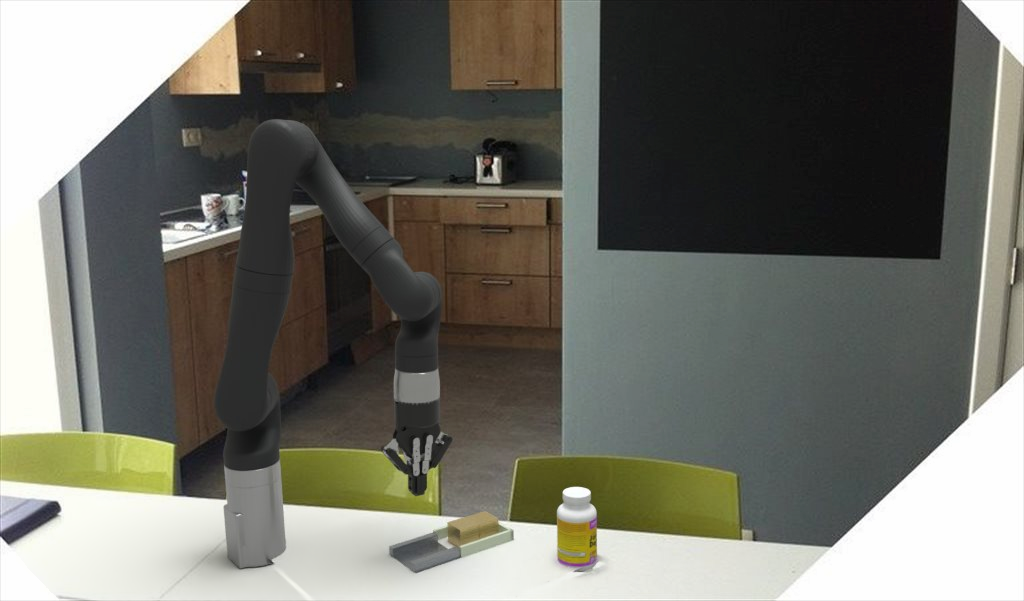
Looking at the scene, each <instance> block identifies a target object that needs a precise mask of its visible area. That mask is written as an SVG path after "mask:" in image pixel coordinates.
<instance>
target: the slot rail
mask: <svg viewBox="0 0 1024 601" xmlns="http://www.w3.org/2000/svg"><path fill="white" fill-rule="evenodd" d="M388 548H389V549H388V550H389V553H388V555H389V556H390V557H392V558H394V559H395V560H396V561H398V562H399V563H400V564H402V565H403V566H404V567H406V568H407V569H408V570H410V571H411V572H413V573H414V574H418V573H421V572H425V571H427V570H430V569H432V568H436V567H439V566H442V565H445V564H448V563H450V562H453V561H455V560H459V559H462V558H463V557H461V555H460V548H459V547H457V546H455V545H454V546H452V547H450V548H448V547H446V546H445V545H443V544H441V543H440V542H439V540H438V534H436V533H435V532H433V531H432V532H430V533H425V534H424V535H420V536H417V537H414V538H411V539H408V540H404V541H402V542H399V543H395V544H391V545H389V546H388Z"/></svg>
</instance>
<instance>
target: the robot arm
mask: <svg viewBox="0 0 1024 601" xmlns="http://www.w3.org/2000/svg"><path fill="white" fill-rule="evenodd" d="M246 162H247V165H246V190H245V191H246V194H245V205H244V210H243V217H242V225H241V230H240V237H239V244H238V250H237V251H238V252H237V256H236V260H235V267H234V274H233V279H232V280H233V281H232V291H231V299H230V307H229V315H228V316H229V317H228V330H227V338H226V339H227V340H226V347H225V350H224V351H225V352H224V357H223V361H222V365H221V367H220V368H221V369H220V372H219V376H218V380H217V382H216V387H215V391H214V396H213V408H214V412H215V416H216V417H217V419H218V420H219V422H220V423H221V425H223V426H224V427H225V428H227V431H226V438H225V443H224V446H223V450H222V451H223V452H222V457H223V465H224V467H223V468H224V469H223V470H224V479H225V493H226V504H224V505H223V516H224V517H223V518H224V527H225V528H224V529H225V531H224V532H225V540H226V541H225V542H226V553H227V554H226V555H227V557H228V559H229V560H231V561H232V562H233V563H234V564H235V565H236V566H237V567H238V568H239V569H245V568H256V567H264V566H267V565H271V564H274V562H275V561H274V562H273V561H272V560H273V559H276V558H277V557H279V556H281V555H283V554H284V553H285V551H286V549H287V539H286V538H287V537H286V527H285V526H286V525H285V516H284V515H285V514H284V513H285V512H284V500H283V499H284V498H283V486H282V485H283V484H282V473H281V472H282V471H281V470H282V469H281V459H280V458H281V456H280V448H281V441H282V418H281V416H282V415H281V414H282V413H281V396H280V391H279V386H278V383H277V381H276V378H275V377H274V376H273V374H272V373H270V364H271V358H272V352H273V348H274V345H275V342H276V340H277V336H278V334H279V331H280V329H281V326H282V323H283V320H284V317H285V314H286V310H287V308H288V304H289V301H290V298H291V297H290V296H291V291H292V285H293V278H294V272H295V263H296V262H295V249H294V240H293V234H292V229H291V228H292V226H291V216H290V214H291V205H292V199H293V195H294V189H295V188H294V187H295V185H298V186H299V188H301V190H303V191H305V193H306V194H308V196H309V197H310V198H311V199H312V200H313V202H315V204H316V205H317V207H318V208H319V209H320V210H321V212H322V214H323V215H324V217H325V219H326V221H327V223H328V224H329V227H330V228H331V230H332V232H333V234H334V235H335V236H336V237H335V238H337V240H338V241H339V243H340V244H341V246H342V247H343V248H344V249H345V250H346V251H347V253H348V254H349V255H350V256H351V257H352V258H353V259H354V261H355V262H356V263H357V264H358V266H360V267H361V269H362V270H363V271H365V273H366V274H367V275H368V276H369V278H370V280H371V282H372V284H373V285H374V287H375V289H376V290H377V291H378V293H379V295H380V297H381V298H382V300H383V301H384V303H385V304H386V305H387V307H388V308H389V310H391V311H392V312H393V313H394V314H395V315H396V316H397V317H398V318H400V319H401V322H400V330H399V332H398V334H397V337H396V339H395V343H394V367H395V368H394V376H393V417H394V418H393V421H394V426H395V427H394V431H393V433H392V439H391V441H390V442H389V443H388V444H387V445H386V444H383V445H381V447H380V451H381V453H383V455H384V457H386V458H387V459H388V460H389V462H390V463H391V464H392V466H394V467H395V469H396V470H398V471H399V472H401V473H402V474H404V475H406V476H407V489H408V491H409V492H410V493H411V495H413V496H415V497H419V496H424V495H425V492H426V491H427V488H428V472H429V471H430V470H431V469H435V468H437V467H438V465H439V464H440V462H441V460H442V459H443V457H444V455H445V454H446V452H447V450H448V448H449V447H450V446H451V444H452V442H453V437H452V436H450V435H449V434H446V433H445V432H443V431H442V429H441V428H442V427H441V425H440V423H439V422H440V420H441V412H440V411H441V408H440V407H441V404H440V403H441V402H440V401H441V398H440V397H441V396H440V395H441V394H440V393H441V388H440V387H441V382H440V381H441V380H440V373H439V344H438V342H439V332H440V327H441V319H442V312H443V311H442V310H443V290H442V286H441V284H440V283H439V281H438V279H437V278H436V277H435V276H434V275H433V274H431V273H430V272H426V271H416V272H414V270H412V268H411V266H410V265H409V264H408V263H407V262H406V260H405V259H404V257H403V256H404V249H403V248H402V246H401V245H400V243H399V242H398V241H397V240H396V239H395V238H394V237H393V235H392V234H391V233H390V232H389V231H388V230H387V228H386V227H384V225H383V224H382V222H381V221H379V220H378V219H377V217H376V216H375V215H374V214H373V213H372V212H371V211H370V209H369V208H368V207H367V206H366V205H365V204H364V203H363V202H362V200H361V198H359V197H358V196H357V193H355V192H354V191H353V189H352V188H351V187H350V186H349V184H348V183H347V181H346V180H345V179H344V178H343V176H342V174H341V173H340V172H339V171H338V169H337V168H336V166H335V165H334V163H333V162H332V160H331V158H330V157H329V155H328V154H327V152H326V151H325V148H323V146H322V144H321V142H320V141H319V139H318V138H317V137H316V135H315V133H314V132H313V131H312V130H311V128H310V127H309V126H307V125H306V124H304V123H302V122H299V121H297V120H293V119H292V120H291V119H280V118H279V119H278V118H275V119H273V118H272V119H268V120H266V121H263V122H261V123H260V124H259V125H258V126H257V127H256V128H255V129H254V131H253V132H252V134H251V136H250V138H249V143H248V148H247V160H246ZM399 451H402V452H403V453H402V454H403V458H404V460H405V461H404V460H403V459H402V458H401V457H400V456H399V453H400V452H399Z"/></svg>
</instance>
